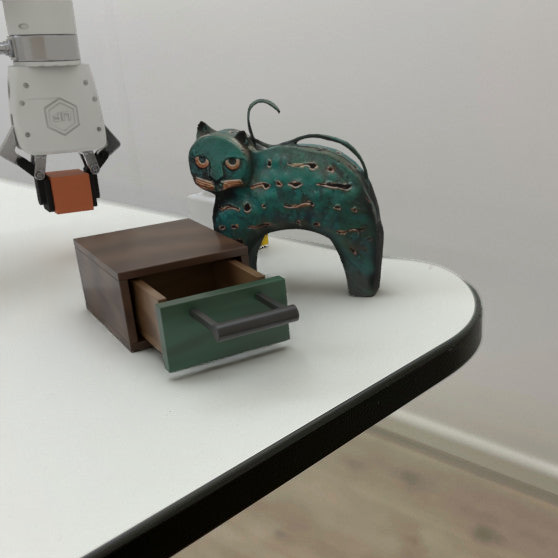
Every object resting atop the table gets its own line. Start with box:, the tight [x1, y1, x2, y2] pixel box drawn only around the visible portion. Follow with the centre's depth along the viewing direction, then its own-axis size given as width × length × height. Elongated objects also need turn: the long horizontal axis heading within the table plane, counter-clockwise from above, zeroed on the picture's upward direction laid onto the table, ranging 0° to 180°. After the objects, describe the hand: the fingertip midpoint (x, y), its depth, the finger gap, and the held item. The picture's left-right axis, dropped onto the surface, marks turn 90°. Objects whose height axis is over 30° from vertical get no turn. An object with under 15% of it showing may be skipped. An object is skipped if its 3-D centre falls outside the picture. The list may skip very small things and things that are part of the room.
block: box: [45, 168, 95, 215], centre depth 96 cm, size 4×4×4 cm
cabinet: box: [72, 217, 250, 353], centre depth 77 cm, size 15×13×8 cm
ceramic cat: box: [187, 98, 385, 297], centre depth 80 cm, size 20×6×20 cm, turn 75°
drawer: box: [128, 258, 300, 374], centre depth 68 cm, size 20×11×6 cm, turn 34°
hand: (70, 205), depth 97 cm, fingers closed on block, 4 cm apart
